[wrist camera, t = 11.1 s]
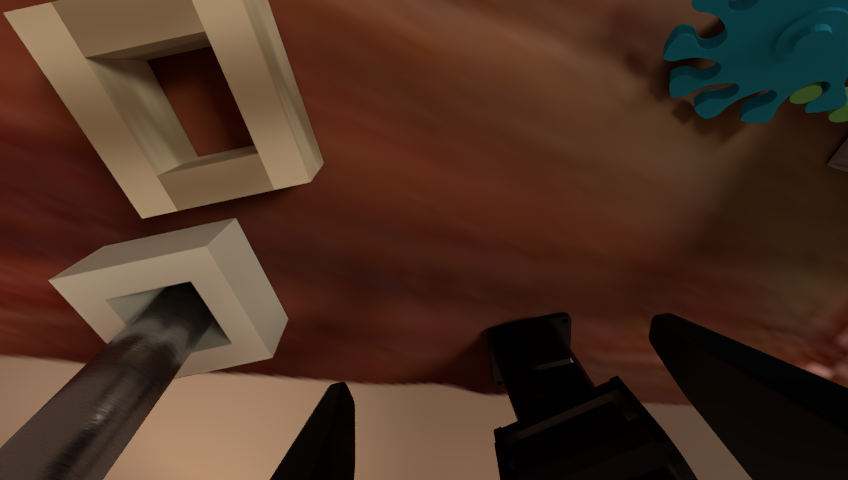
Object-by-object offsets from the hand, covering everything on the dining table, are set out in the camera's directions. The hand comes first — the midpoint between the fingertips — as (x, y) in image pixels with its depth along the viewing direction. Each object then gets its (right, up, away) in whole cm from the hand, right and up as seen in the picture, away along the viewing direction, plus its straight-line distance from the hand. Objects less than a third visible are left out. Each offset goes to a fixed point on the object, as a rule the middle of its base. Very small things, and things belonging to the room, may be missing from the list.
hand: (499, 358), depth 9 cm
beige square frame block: (-12, +10, +7) cm, 18 cm away
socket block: (-16, 0, +12) cm, 20 cm away
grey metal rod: (-16, 0, +12) cm, 20 cm away
